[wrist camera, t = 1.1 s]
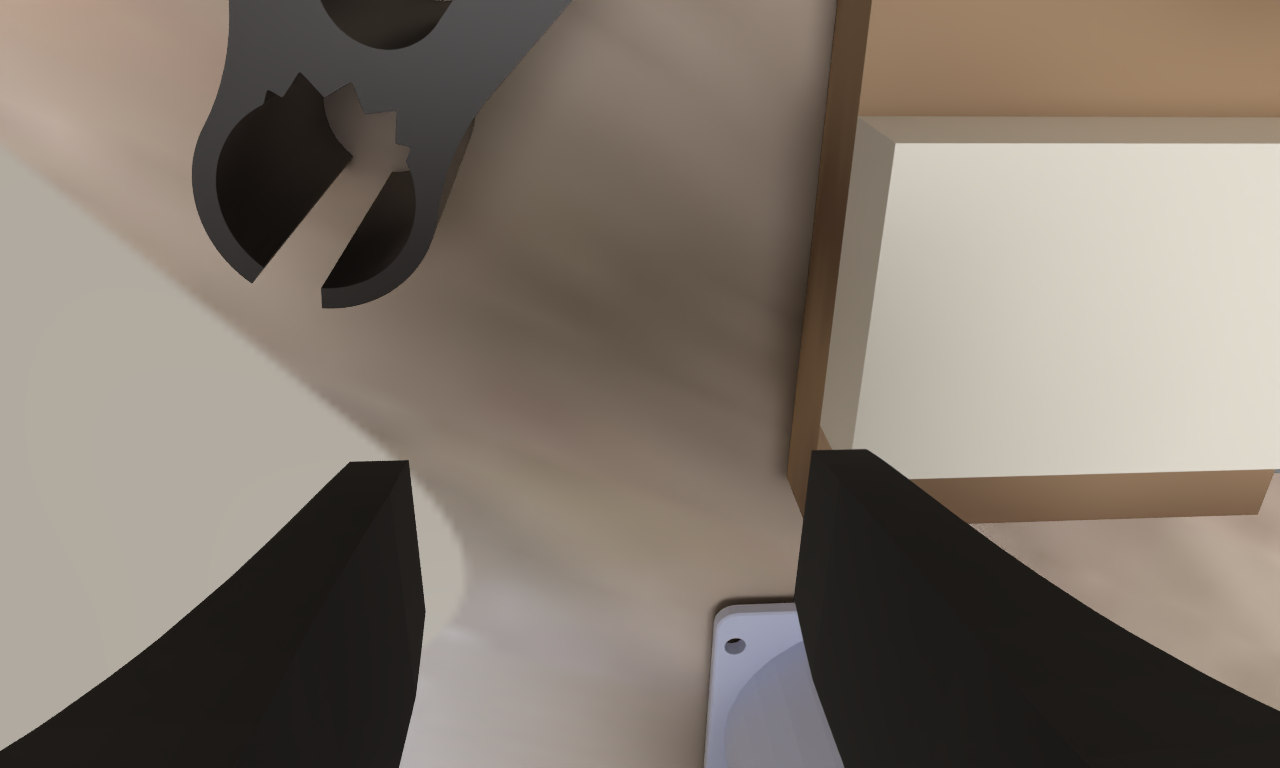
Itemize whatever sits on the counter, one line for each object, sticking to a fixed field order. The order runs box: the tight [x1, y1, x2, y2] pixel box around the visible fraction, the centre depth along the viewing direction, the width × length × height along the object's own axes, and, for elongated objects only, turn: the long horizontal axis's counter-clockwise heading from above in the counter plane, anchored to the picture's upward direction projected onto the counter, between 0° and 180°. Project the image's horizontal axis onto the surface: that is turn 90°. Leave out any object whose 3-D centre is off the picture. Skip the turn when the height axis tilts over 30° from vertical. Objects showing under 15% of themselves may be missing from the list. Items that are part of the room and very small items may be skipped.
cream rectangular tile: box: [820, 116, 1280, 479], centre depth 17 cm, size 6×9×2 cm, turn 89°
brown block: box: [787, 0, 1280, 524], centre depth 18 cm, size 11×10×2 cm
